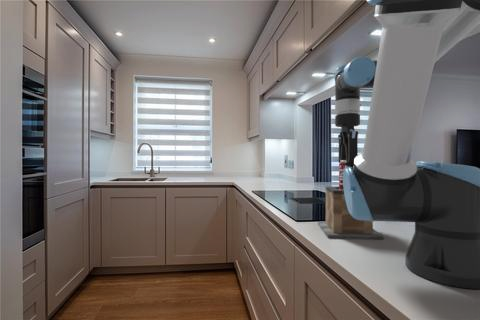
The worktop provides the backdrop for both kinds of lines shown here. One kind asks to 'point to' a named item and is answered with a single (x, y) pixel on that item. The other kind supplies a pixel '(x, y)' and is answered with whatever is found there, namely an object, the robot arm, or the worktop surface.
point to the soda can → (341, 173)
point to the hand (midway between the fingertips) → (347, 185)
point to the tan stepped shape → (344, 219)
